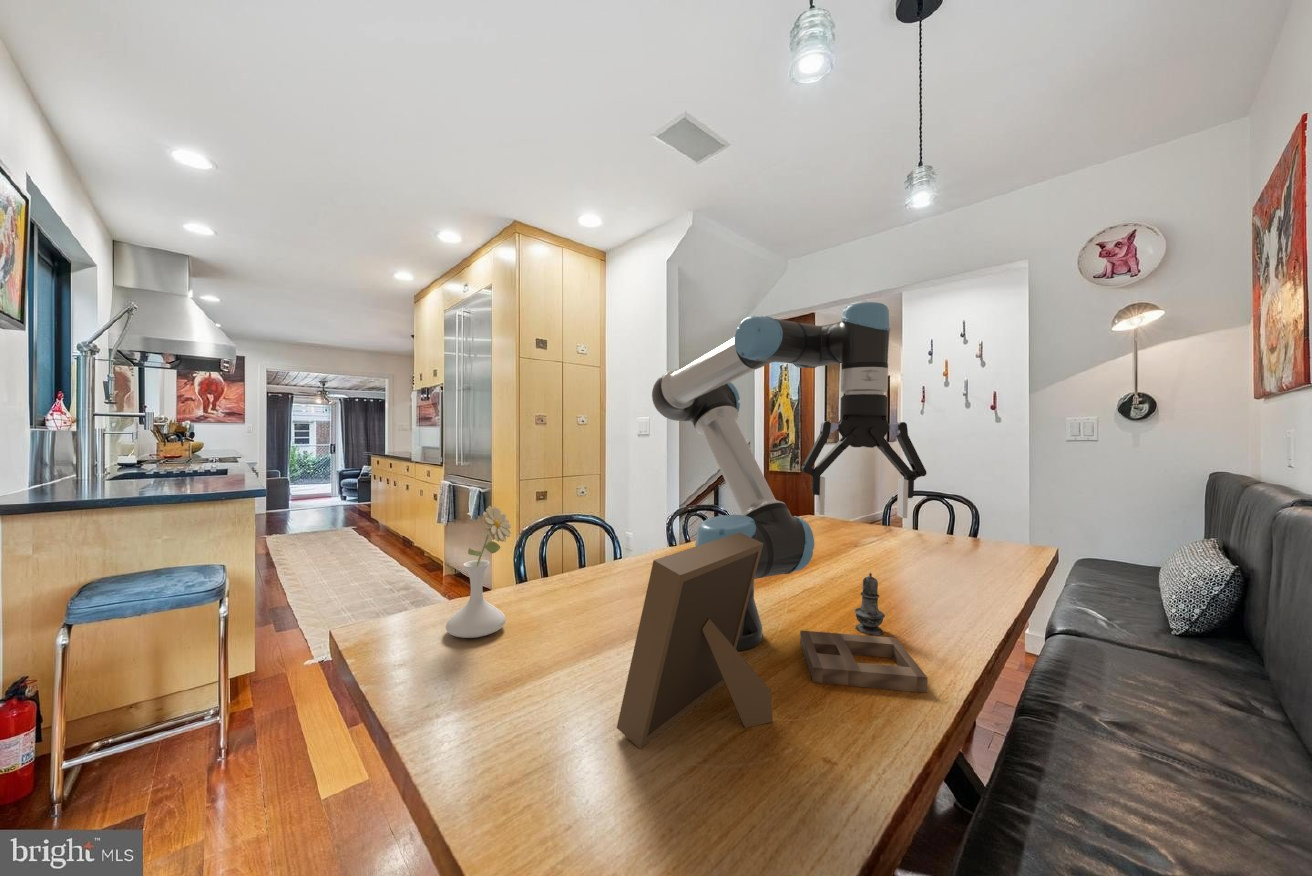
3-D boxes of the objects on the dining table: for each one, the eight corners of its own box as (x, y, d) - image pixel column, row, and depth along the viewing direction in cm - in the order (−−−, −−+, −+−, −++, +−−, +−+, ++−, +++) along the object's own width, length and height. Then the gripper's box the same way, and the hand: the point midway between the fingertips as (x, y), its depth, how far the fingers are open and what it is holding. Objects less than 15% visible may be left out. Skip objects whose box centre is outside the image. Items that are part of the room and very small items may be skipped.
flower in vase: (466, 649, 89) (466, 515, 88) (434, 633, 95) (434, 508, 95) (524, 626, 99) (525, 506, 98) (491, 613, 106) (492, 500, 105)
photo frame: (616, 735, 65) (621, 551, 64) (705, 672, 81) (710, 527, 81) (708, 790, 55) (715, 576, 54) (788, 707, 72) (794, 542, 71)
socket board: (812, 682, 79) (813, 667, 79) (800, 643, 93) (800, 630, 93) (926, 692, 76) (927, 677, 76) (895, 650, 90) (896, 637, 90)
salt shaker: (889, 636, 97) (891, 577, 97) (860, 635, 97) (862, 576, 97) (877, 624, 103) (878, 568, 103) (849, 623, 103) (850, 568, 103)
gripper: (793, 392, 82) (790, 516, 82) (950, 392, 78) (947, 522, 78) (787, 395, 89) (785, 508, 90) (931, 395, 85) (928, 514, 86)
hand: (860, 515), depth 84 cm, fingers open, 13 cm apart
